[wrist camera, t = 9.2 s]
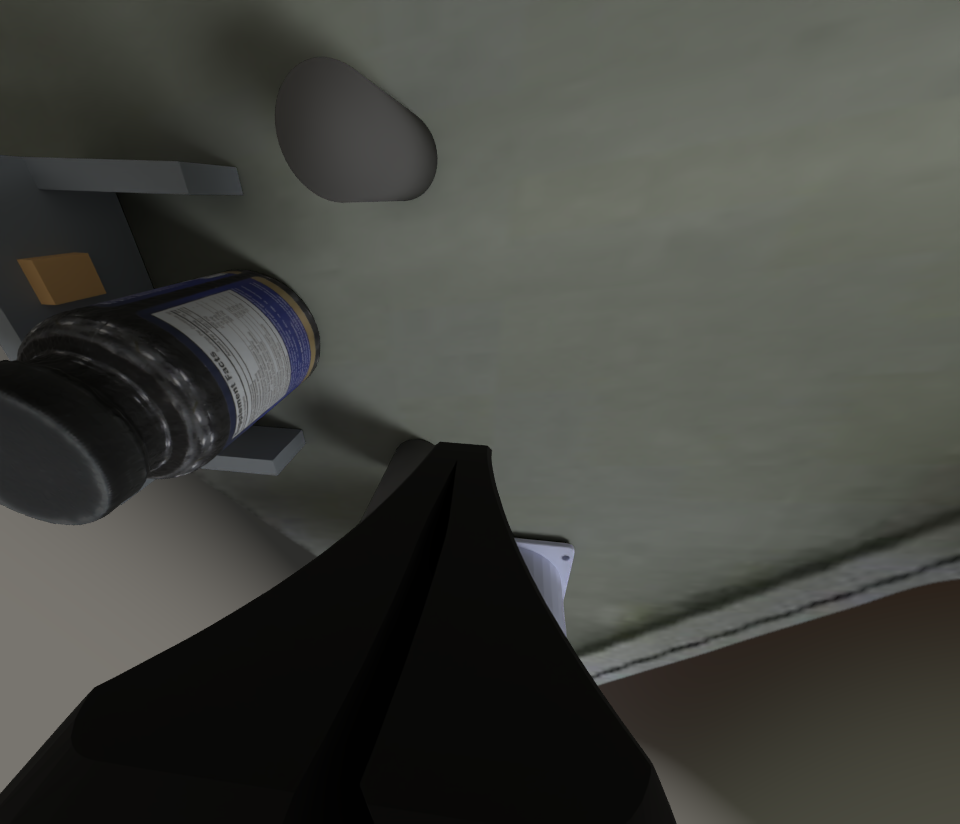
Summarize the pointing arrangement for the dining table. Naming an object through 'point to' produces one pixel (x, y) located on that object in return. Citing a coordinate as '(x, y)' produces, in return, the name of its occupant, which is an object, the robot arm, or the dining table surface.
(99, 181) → the rectangular block
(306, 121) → the post
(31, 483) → the pill bottle
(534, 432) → the dining table surface
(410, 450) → the post
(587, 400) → the dining table surface
